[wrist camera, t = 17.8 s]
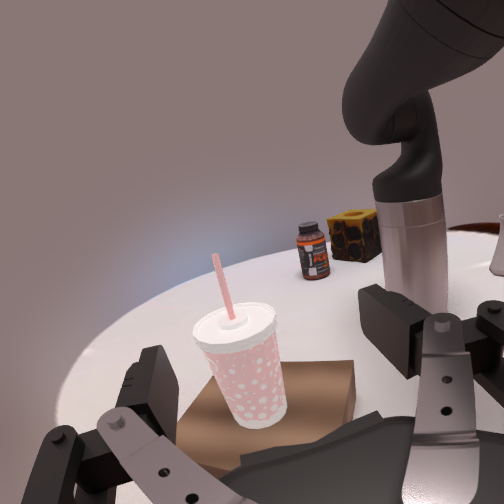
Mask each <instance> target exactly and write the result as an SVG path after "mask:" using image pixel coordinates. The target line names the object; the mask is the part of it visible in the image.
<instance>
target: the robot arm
mask: <svg viewBox="0 0 504 504" xmlns="http://www.w3.org/2000/svg"><path fill="white" fill-rule="evenodd" d="M503 47H504V0H388V3H387V6H386V8H385V11H384V13H383V15H382V18H381V20H380V22H379V24H378V26H377V29H376V31H375V33H374V35H373V37H372V39H371V41H370V43H369V45H368V47H367V48H366V50H365V52H364V53H363V55H362V57H361V58H360V60H359V61H358V63H357V64H356V66H355V68H354V69H353V71H352V72H351V74H350V76H349V78H348V80H347V82H346V85H345V88H344V92H343V97H342V114H343V118H344V122H345V125H346V127H347V129H348V131H349V132H350V134H351V135H352V136H353V137H354V138H355V139H356V140H357V141H359V142H361V143H363V144H368V145H383V144H391V143H399V142H401V149H402V150H401V155H400V157H399V158H398V160H397V161H396V162H395V163H394V164H393V165H392V166H391V167H389V168H388V169H386V170H385V171H383V172H382V173H380V174H379V175H377V176H376V177H375V178H374V179H373V184H372V186H373V193H374V199H375V205H376V212H377V218H378V225H379V232H380V240H381V248H382V257H383V267H384V277H385V289H386V290H385V289H383V288H382V287H380V286H379V285H377V284H374V285H371V286H368V287H365V288H362V289H359V291H358V300H359V311H360V322H361V327H362V330H363V333H364V335H365V336H366V337H367V338H368V340H369V341H370V342H371V343H372V344H373V345H374V346H375V347H376V348H377V349H378V350H379V351H380V352H381V353H382V354H383V355H384V356H385V357H386V358H387V359H388V360H389V361H390V362H391V363H392V364H393V365H394V366H395V367H396V369H397V370H398V371H399V372H400V373H401V374H402V375H403V376H404V377H405V378H406V379H407V380H408V379H410V378H412V377H414V376H416V375H419V376H420V382H419V391H418V400H417V407H416V415H415V417H410V416H396V417H388V418H382V417H381V415H380V414H379V412H378V411H374V412H372V413H370V414H367V415H365V416H363V417H360V418H358V419H355V420H353V421H350V422H348V423H345V424H344V425H342V426H340V427H339V428H337V429H336V430H334V431H332V432H331V433H329V434H327V435H326V436H324V437H322V438H320V439H319V440H317V441H315V442H312V443H305V444H297V445H288V446H277V447H271V448H268V449H264V450H260V451H256V452H252V453H248V454H243V455H239V456H240V462H241V465H240V466H238V467H236V468H234V469H232V470H230V471H228V472H227V473H225V474H224V475H223V476H221V477H220V478H219V479H216V478H215V477H213V476H212V475H211V474H209V473H208V472H207V471H206V470H204V469H203V468H202V467H201V466H199V465H198V464H197V463H196V462H194V461H193V460H192V459H191V458H189V457H188V456H187V455H186V454H185V453H183V452H182V451H181V450H180V449H179V448H178V447H177V446H176V430H177V413H178V397H179V386H178V381H177V378H176V376H175V373H174V371H173V369H172V366H171V364H170V362H169V360H168V357H167V355H166V353H165V350H164V348H163V347H162V345H157V346H153V347H148V348H144V349H142V352H141V356H140V359H139V362H136V363H133V364H132V365H131V367H130V368H129V369H128V370H127V372H126V375H125V378H124V381H123V384H122V388H121V390H120V393H119V396H118V400H117V403H116V406H115V408H113V409H111V410H109V411H107V412H106V413H104V414H103V415H102V416H101V417H100V418H99V420H98V422H97V429H94V430H91V431H88V432H85V433H82V434H79V435H78V433H77V432H76V430H75V429H74V428H73V427H71V426H69V425H62V426H58V427H56V428H54V429H52V430H51V431H50V432H48V434H47V435H46V436H45V438H44V440H43V442H42V445H41V447H40V450H39V453H38V455H37V458H36V461H35V463H34V466H33V469H32V472H31V474H30V477H29V481H28V483H27V486H26V490H25V493H24V496H23V499H22V502H21V504H115V498H116V488H117V486H118V485H121V484H124V483H127V482H130V481H133V480H134V482H135V483H136V484H137V485H138V487H139V488H140V489H141V490H142V491H143V493H144V494H145V495H146V496H147V497H148V498H149V499H150V501H151V502H152V503H153V504H504V434H500V433H493V432H487V431H481V430H476V412H475V394H474V382H473V379H474V380H475V381H476V382H477V383H478V384H480V385H481V386H482V387H483V388H484V389H485V390H486V391H487V392H488V393H489V394H490V395H491V396H492V397H493V398H494V399H495V400H496V401H497V402H498V403H499V404H500V405H501V406H502V407H503V408H504V358H503V357H502V356H503V351H504V302H501V301H496V300H490V301H485V302H483V303H481V304H480V305H479V306H478V308H477V317H474V318H471V319H467V320H463V321H461V320H460V318H459V317H457V316H456V315H454V314H451V313H447V304H448V255H447V235H446V222H445V212H444V202H443V193H442V185H441V177H442V156H441V149H440V142H439V136H438V129H437V123H436V117H435V112H434V107H433V104H432V100H431V97H430V94H429V92H428V90H429V89H431V88H434V87H436V86H439V85H441V84H444V83H446V82H449V81H451V80H453V79H456V78H458V77H460V76H462V75H465V74H467V73H469V72H471V71H473V70H475V69H476V68H478V67H480V66H481V65H483V64H484V63H486V62H487V61H488V60H490V59H491V58H492V57H493V56H494V55H495V54H496V53H497V52H499V51H500V50H501V49H502V48H503ZM75 483H76V484H77V489H76V495H75V499H74V494H73V491H74V486H75Z"/></svg>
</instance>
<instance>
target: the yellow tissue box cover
mask: <svg viewBox="0 0 504 504" xmlns="http://www.w3.org/2000/svg"><path fill="white" fill-rule="evenodd" d="M327 223H328V227H329V235H330V239H331V251H332V253H333V255H332V257H333V259H336V260H345V261H359V262H364V263H365V262H367V261H369V260H370V259H372V258H374V257H375V256H377V255H378V254H380V253H381V252H382V248H381V240H380V232H379V225H378V218H377V212H376V209H362V210H349V211H346V212H343V213H340V214H338V215H336V216H334V217H331V218H328V219H327Z"/></svg>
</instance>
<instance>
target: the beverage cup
mask: <svg viewBox="0 0 504 504" xmlns="http://www.w3.org/2000/svg"><path fill="white" fill-rule="evenodd" d="M211 256H212V260H213V263H214V267H215V271H216V274H217V278H218V281H219V285H220V288H221V292H222V295H223V299H224V302H225V306H226V307H223V308H220V309H218V310H216V311H213V312H211V313H209V314H208V315H206V316H205V317H203V318H202V319H200V320H199V321H198V322H197V324H196V325H195V326H194V327H193V337H194V339H195V340H196V344H197V345H198V346H199V348H200V349H201V350H203V352H204V355H205V357H206V359H207V361H208V364H209V366H210V368H211V370H212V372H213V375H214V377H215V379H216V381H217V383H218V385H219V387H220V390H221V392H222V394H223V396H224V398H225V400H226V402H227V404H228V406H229V408H230V410H231V412H232V414H233V416H234V418H235V420H236V421H237V422H238V424H239V425H241V426H243V427H246V428H248V429H261V428H265V427H269V426H271V425H273V424H275V423H276V422H278V421H280V419H281V418H282V417H283V416H284V415H285V413H286V409H287V402H286V395H285V389H284V382H283V376H282V370H281V363H280V357H279V351H278V344H277V338H276V332H275V329H276V326H277V324H278V323H277V321H276V313H275V311H274V309H273V307H271V306H269V305H267V304H265V303H256V302H248V303H238V304H234V305H232V303H231V299H230V295H229V292H228V288H227V284H226V281H225V277H224V273H223V270H222V266H221V262H220V259H219V255H218V253H215V254H212V255H211Z"/></svg>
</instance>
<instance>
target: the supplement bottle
mask: <svg viewBox="0 0 504 504" xmlns="http://www.w3.org/2000/svg"><path fill="white" fill-rule="evenodd" d="M298 227H299V231H300V233H299V236H298V237H297V239H296V241H297V247H298V252H299V257H300V263H301V268H302V273H303V277H304V278H306V279H312V280H314V279H320V278H323V277H326V276H327V275H328V274H329V273H330V267H329V261H328V254H327V248H326V242H325V237H324V234H323V232H321V231H320V230H319V229H318V223H317V222H306V223H302V224H300V225H299V226H298Z"/></svg>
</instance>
